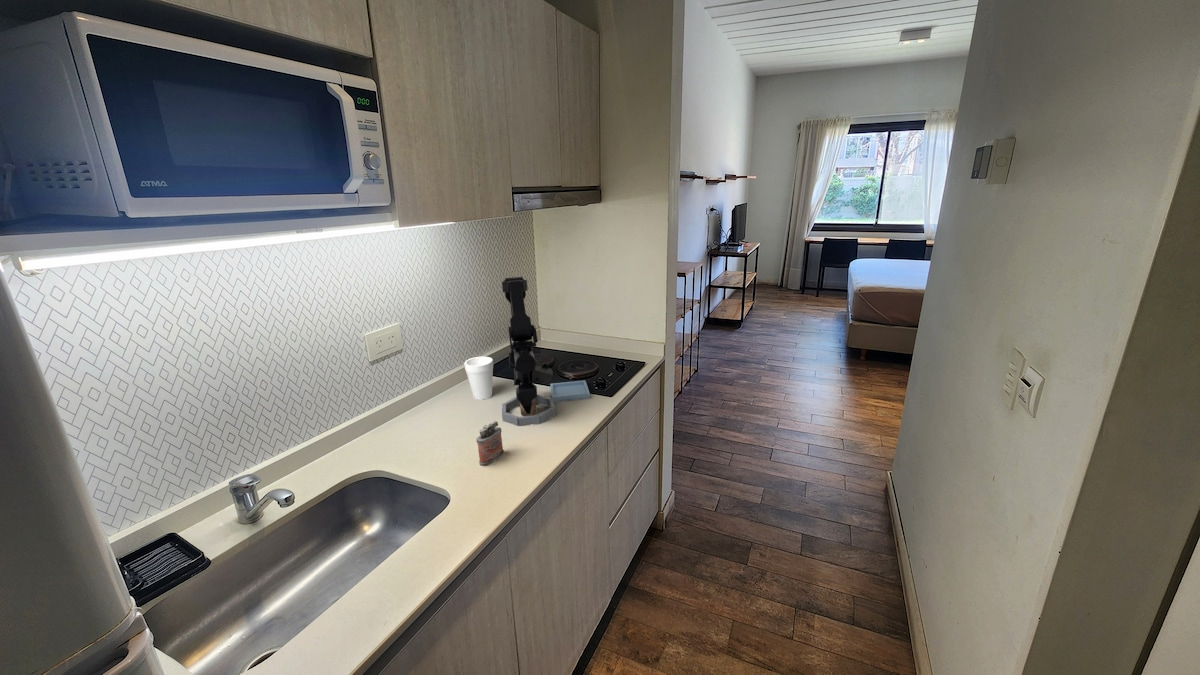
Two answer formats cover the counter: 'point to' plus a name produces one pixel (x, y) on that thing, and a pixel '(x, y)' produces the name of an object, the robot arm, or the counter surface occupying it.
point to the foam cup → (480, 376)
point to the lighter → (490, 444)
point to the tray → (569, 391)
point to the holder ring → (528, 419)
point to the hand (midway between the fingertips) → (528, 406)
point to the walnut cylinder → (533, 409)
